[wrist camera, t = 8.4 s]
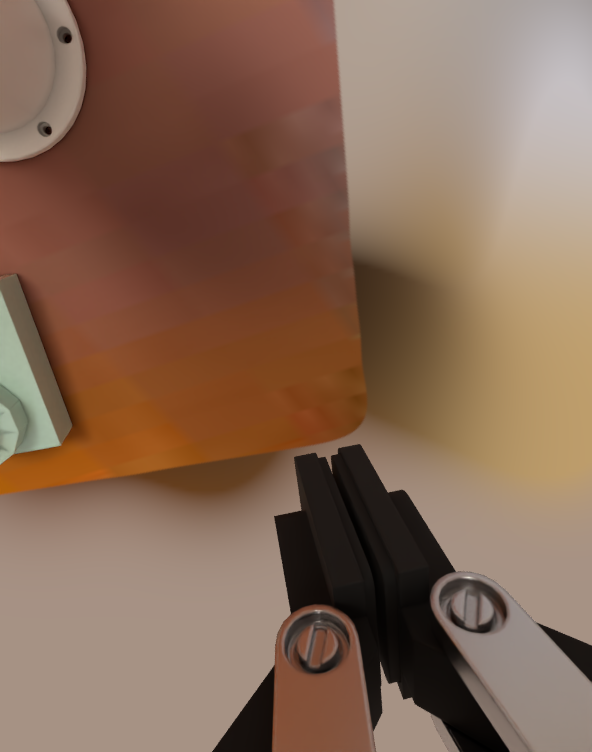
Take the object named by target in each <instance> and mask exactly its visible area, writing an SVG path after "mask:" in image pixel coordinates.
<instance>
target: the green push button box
mask: <svg viewBox="0 0 592 752" xmlns="http://www.w3.org/2000/svg"><path fill="white" fill-rule="evenodd" d="M72 427H73V426H72V423H71V420H70V417H69V415H68V412H67V409H66V407H65V404H64V401H63V399H62V396H61V393H60V390H59V388H58V385H57V382H56V380H55V377H54V374H53V372H52V369H51V366H50V363H49V361H48V358H47V355H46V353H45V350H44V347H43V345H42V342H41V339H40V336H39V334H38V331H37V328H36V326H35V323H34V320H33V318H32V315H31V312H30V309H29V307H28V304H27V301H26V299H25V296H24V293H23V291H22V288H21V285H20V282H19V280H18V277H17V274H9V275H2V276H0V465H1V464H2V463H3V462H4V461H6V460H7V459H8V458H9V457H10V456H12V455H13V454H18V453H23V452H29V451H34V450H40V449H45V448H51V447H56V446H61V444H62V443H63V441H64V440H65V438H66V436H67V435H68V433H69V431H70V430H71V428H72Z"/></svg>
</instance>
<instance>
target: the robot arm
mask: <svg viewBox="0 0 592 752" xmlns="http://www.w3.org/2000/svg"><path fill="white" fill-rule="evenodd" d="M67 35H70V36H71V37H72V40H71V42H70V43H66V42H65V37H66V36H67ZM85 88H86V60H85V53H84V45H83V41H82V38H81V35H80V31H79V28H78V25H77V21H76V19H75V17H74V15H73V13H72V11H71V8H70V6H69V4H68V2H67V0H0V162H15V161H20V160H24V159H28V158H33V157H35V156H37V155H39V154H41V153H43V152H45V151H47V150H49V149H50V148H51V147H53V146H54V145H55V144H56V143H58V142H59V141H60V140H61V139H62V138H63V137H64V136H65V135H66V133H67V132H68V131H69V129H70V128H71V127H72V125H73V124H74V122H75V120H76V117H77V115H78V113H79V111H80V109H81V106H82V101H83V97H84V93H85ZM48 126H49V127H51V129H52V133H51V134H50V135H48V134H47V133H46V130H45V129H46V127H48ZM294 461H295V468H296V475H297V482H298V489H299V496H300V503H301V509H302V511H298V512H293V513H288V514H283V515H278V516H274V518H275V524H276V529H277V535H278V541H279V547H280V553H281V559H282V564H283V570H284V576H285V582H286V587H287V593H288V599H289V605H290V611H291V615H290V616H289V617H288V618H287V619H286V620H285V621H284V622H283V624H282V626H281V628H280V630H279V631H278V634H277V639H276V644H275V665H274V667H273V668H272V670H271V671H270V672H269V674H268V675H267V677H266V678H265V679H264V680H263V682H262V683H261V685H260V686H259V687H258V689H257V691H256V692H255V693H254V694H253V696H252V697H251V699H250V700H249V701H248V703H247V704H246V706H245V707H244V708H243V710H242V711H241V712H240V714H239V715H238V717H237V718H236V719H235V721H234V722H233V724H232V725H231V726H230V728H229V729H228V731H227V732H226V733H225V735H224V736H223V737H222V739H221V740H220V742H219V743H218V745H217V746H216V747H215V749H214V750H213V751H212V752H376V748H375V742H374V735H373V731H374V729H375V726H376V725H377V722H378V721H379V718H380V716H381V714H382V700H381V670H380V662H381V665H382V667H383V670H384V674H385V676H386V679H387V681H388V683H389V684H390V683H394V682H397V683H398V686H399V689H400V691H401V694H402V697H403V699H407V698H411V697H412V698H413V701H414V703H415V704H416V705H417V706H419V707H421V708H422V709H424V710H426V711H428V712H429V713H431V717H432V720H433V722H434V725H435V727H436V729H437V731H438V733H439V735H440V737H441V739H442V740H443V742H444V744H445V746H446V747H447V749H448V751H449V752H592V646H591V645H589V644H587V643H584V642H582V641H580V640H577V639H575V638H572V637H570V636H567V635H565V634H563V633H560V632H558V631H555V630H553V629H551V628H548V627H546V626H543V625H541V624H539V623H536V622H535V621H534V620H533V619H532V618H531V617H530V616H529V615H528V614H527V612H526V611H525V610H524V609H523V608H522V607H521V606H520V605H519V604H518V603H517V602H516V601H515V600H514V598H513V597H512V596H511V595H510V594H509V593H508V592H507V591H506V590H505V589H504V588H503V587H501V586H500V585H499V584H498V583H497V582H495V581H494V580H492V579H490V578H488V577H486V576H484V575H481V574H477V573H473V572H461V571H460V572H456V571H455V570H454V568H453V566H452V565H451V563H450V562H449V560H448V558H447V557H446V555H445V554H444V552H443V550H442V549H441V547H440V545H439V544H438V542H437V541H436V539H435V538H434V536H433V534H432V533H431V531H430V529H429V528H428V526H427V525H426V523H425V521H424V520H423V518H422V517H421V515H420V514H419V512H418V510H417V509H416V507H415V506H414V504H413V502H412V501H411V499H410V497H409V496H408V494H407V493H406V492H405V491H404V490H399V491H394V492H389V493H388V492H387V491H386V489H385V487H384V485H383V483H382V482H381V480H380V478H379V476H378V475H377V473H376V471H375V469H374V467H373V466H372V464H371V462H370V460H369V459H368V457H367V455H366V453H365V451H364V450H363V448H362V446H361V445H360V444H358V445H353V446H348V447H342V448H339V449H338V454H337V455H332V456H331V463H332V472H331V469H330V467H329V465H328V462H327V460H326V458H325V457H321V458H318V457H317V454H316V453H311V454H306V455H301V456H296V457H294ZM332 473H333V474H332Z"/></svg>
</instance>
